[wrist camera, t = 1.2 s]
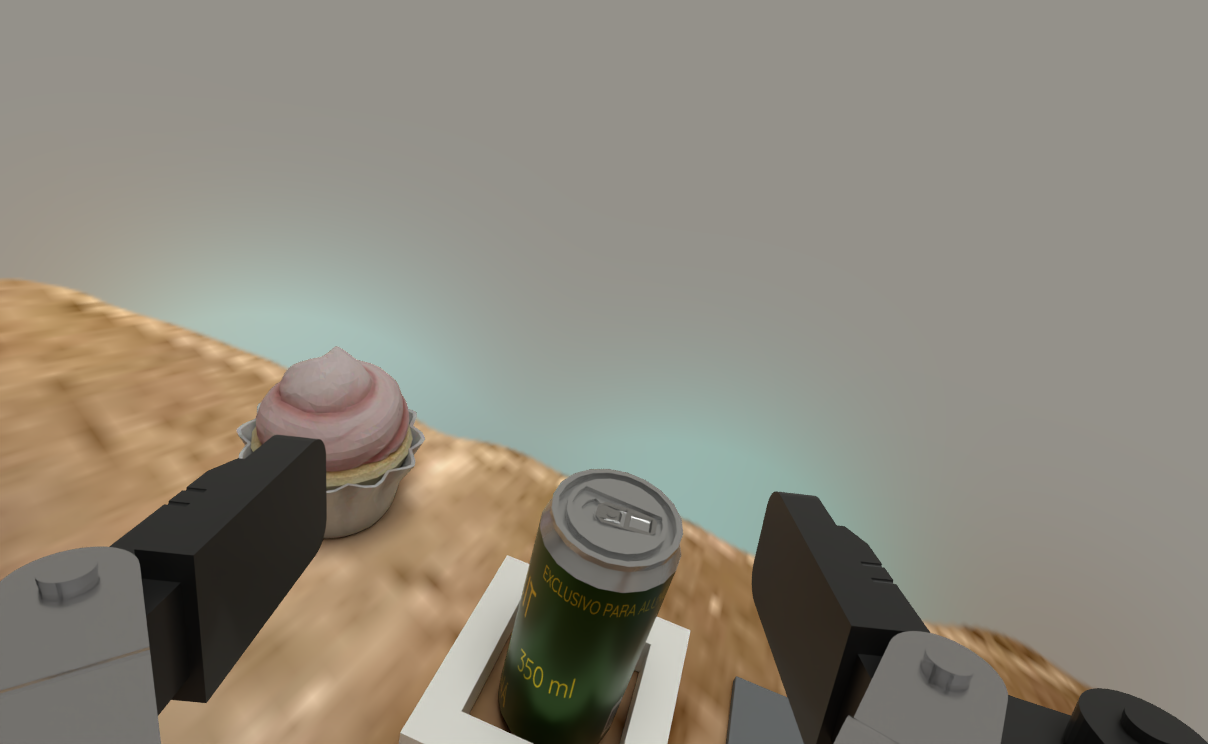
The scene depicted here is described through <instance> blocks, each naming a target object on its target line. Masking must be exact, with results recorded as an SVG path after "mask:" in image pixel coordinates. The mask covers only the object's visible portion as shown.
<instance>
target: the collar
mask: <svg viewBox="0 0 1208 744" xmlns="http://www.w3.org/2000/svg"><path fill="white" fill-rule="evenodd" d="M528 567H529V564H527V563H525V562H523V561H520V560H518V559H515V558H513V557H510V556H508V555H507V557H506V558H505V560H504V562H503V563H502V565H501V566H500V568H499V570H498V571H497V573H496V575H495V576H494V578H493V580H492V581H491V583H490V585H489V586H488V588H487V590H486V591H485V593H484V595H483V596H482V598H481V600H480V601H479V603H478V605H477V606H476V608H475V610H474V611H473V613H472V615H471V616H470V618H469V620H468V621H467V623H466V625H465V626H464V628H463V630H462V631H461V633H460V635H459V636H458V638H457V640H456V641H455V643H454V644H453V646H452V648H451V649H450V651H449V653H448V654H447V656H446V658H445V659H444V661H443V663H442V664H441V666H440V668H439V669H438V671H437V673H436V674H435V676H434V678H433V679H432V681H431V683H430V684H429V686H428V688H427V689H426V691H425V693H424V694H423V696H422V698H421V699H420V701H419V703H418V704H417V706H416V708H415V709H414V711H413V713H412V714H411V716H410V717H409V719H408V721H407V722H406V724H405V726H404V727H403V729H402V731H401V732H400V739H399V744H533V743H531V742H528V741H526V740H524V739H522V738H519V737H517V736H515V735H513V734H511V733H508V732H506V731H504V730H502V729H500V728H497V727H495V726H493V725H491V724H488V723H486V722H484V721H482V720H480V719H477V718H475V717H473V716H471V715H469V713H470V711H471V709H472V707H473V705H474V704H475V702H476V700H477V698H478V696H479V694H480V692H481V690H482V688H483V686H484V684H485V682H486V680H487V678H488V676H489V674H490V672H491V671H492V669H493V667H494V665H495V663H496V661H497V659H498V657H499V655H500V653H501V651H502V649H503V647H504V645H505V643H506V641H507V639H508V638H509V636H510V634H511V632H512V630H513V627H514V623H515V619H516V615H517V611H518V607H519V603H520V599H521V595H522V591H523V587H524V583H525V579H526V575H527V571H528ZM689 635H690V630H688V629H686V628H683V627H681V626H678V625H676V624H673V623H671V622H669V621H666V620H664V619H661V618H659V617H656V619H655V621H654V624H653V626H652V628H651V631H650V633H649V636H648V638H647V640H646V643H645V645H644V647H643V650H642V652H641V655H640V657H639V659H638V662H637V664H636V666H635V669H634V670H635V671H638V672H639V674H638V678H637V681H636V685H635V689H634V692H633V696H632V700H631V703H630V707H629V711H628V714H627V718H626V721H625V725H624V729H623V732H622V736H621V740H620V743H619V744H667V742H668V737H669V733H670V728H671V723H672V718H673V713H674V708H675V703H676V698H677V693H678V689H679V684H680V679H681V674H682V669H683V664H684V659H685V654H686V650H687V645H688V640H689Z"/></svg>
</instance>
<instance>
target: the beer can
mask: <svg viewBox="0 0 1208 744" xmlns="http://www.w3.org/2000/svg"><path fill="white" fill-rule="evenodd" d="M682 535H683V529H682V520H681V517H680V515H679V513H678V511H677V509H676V508H675V505H674V504H673V503H672V502H671V501H670V500H669V498H668V497H667V496H666V495H665V494H664V493H663V492H662V491H661V490H659V489H658V488H656V487H655V486H653V485H652V484H650V483H649V482H647V481H646V480H644V479H641V478H639V477H636V476H634V475H632V474H629V473H626V472H621V471H616V470H611V469H590V470H586V471H582V472H578V473H575V474H573V475H571V476H570V477H568V478H567V479H565V480H564V481H562V482H561V483H560V485H559V486H558V488H557V489H556V491H555V492H554V494H553V498H552V499H551V500H550V501H549V503H548V504H547V506H546V507H545V509H544V510H543V512H542V516H541V520H540V524H539V528H538V532H537V536H536V540H535V544H534V548H533V552H532V556H531V560H530V564H529V567H528V571H527V575H526V579H525V583H524V587H523V591H522V595H521V599H520V603H519V607H518V611H517V615H516V619H515V623H514V627H513V631H512V635H511V639H510V643H509V647H508V651H507V655H506V659H505V663H504V667H503V671H502V675H501V680H500V686H499V691H498V696H499V703H500V710H501V713H502V715H503V717H504V719H505V721H506V723H507V725H508V727H509V729H510V731H511V733H512V734H513V735H515V736H517V737H519V738H522V739H524V740H526V741H528V742H531V743H533V744H597V743H598V742H599V741H600V740H601V739H602V737H603V736H604V735H605V734H606V733H607V731H608V730H609V728H610V726H611V723H612V721H613V719H614V716H615V714H616V712H617V709H618V707H619V704H620V702H621V700H622V697H623V695H624V693H625V690H626V688H627V685H628V683H629V681H630V678H631V676H632V674H633V671H634V669H635V666H636V664H637V662H638V659H639V657H640V655H641V652H642V650H643V647H644V645H645V643H646V640H647V638H648V636H649V633H650V631H651V628H652V626H653V624H654V621H655V619H656V617H657V614H658V612H659V609H660V607H661V605H662V602H663V600H664V598H665V595H666V593H667V590H668V588H669V586H670V583H671V581H672V579H673V576H674V574H675V572H676V569H677V566H678V563H679V560H680V557H681V550H680V541H681V538H682Z"/></svg>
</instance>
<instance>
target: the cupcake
mask: <svg viewBox="0 0 1208 744" xmlns="http://www.w3.org/2000/svg"><path fill="white" fill-rule="evenodd" d="M416 417H417V412H415V411H413V410H410V409H408V407H407V403H406V401H405V399H404V397H403V396H402V394H401V391H400V389H399V385H398V383H397V382H396V380H394V379H393V378H392V377H391V376H390V375H389V374H387V373H386V372H385V371H384V370H382V369H381V368H380V367H377V366H375V365H373V364H371V363H367V362H363V361H360V360H356V359H355V358H353V357H352V356H351V355H350V354H348V353H347V352H346V351H344V350H343V349H341V348H339V347H337V346H336V347H334V348H333V349H332V350H331V351H329V352H328V353H327V354H325V355H324V356H322V357H320V358H313V359H309V360H306V361H302V362H299V363H296V364H294V365H292V366H291V367H290V368H289V369H288V370H287V371H286V372H285V374H284V376H283V378H282V380H281V381H280V382H279V383H277V384H276V385H275V386H273V387H272V388H271V389H270V391H269V392H268V393H267V395H266V396H265V397H264V399H263V400H262V402H261V403H259V405H258V406H257V416H256V418H255V419H253V420H251V421H249V422H247V423H244V424H242V425H241V426H240V427H239V428H238V429H236V430H237V433H238V435H239V437H240V438H241V440H242V441H243V442H244V444H245V445H246V446H245V447H244V448H243V450H242V451H241V452H240V454H239V458H241V459H245V458H246V457H248V456H249V455H250V454H251V453H252V452H254V451H255V450H256V449H257V448H259V447H260V446H261V445H262V444H263V443H265V442H266V441H267V440H268V439H270V438H271V437H272V436H274V435H287V436H295V437H304V438H313V439H320V440H322V441H323V443H324V445H325V449H326V493H327V521H326V529H325V534H324V537H323V538H337V537H344V536H348V535H352V534H355V533H358V532H360V531H362V530H364V529H366V528H368V527H370V526H372V525H373V524H374V523H375V522H377V521H378V520H379V519H380V518H381V517H382V516H383V515H384V514H385V512H386V511H387V510H388V508H389V507H390V505H391V503H392V501H393V499H394V496H395V494H396V491H397V488H398V484H399V482H400V480H401V479H402V478H403V477H404V476H405V475H406V474H407V473H408V472H409V471H410V470H411V469H412V468H413V467H414V466H415V459H414V454H415V453H416V451H417V450H418V448H419V447H420V446H421V444H422V443H423V441H424V440H425V437H424V435H423V433H422V432H421V431H420V430H418V429H417V428H415V427H414V426H413V425H414V422H415V420H416Z"/></svg>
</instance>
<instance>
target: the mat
mask: <svg viewBox="0 0 1208 744" xmlns="http://www.w3.org/2000/svg"><path fill="white" fill-rule="evenodd" d="M726 744H804V743H803V740H802V737H801V734H800V731H799V728H798V725H797V723H796V720H795V717H794V714H793V711H792V708H791V705H790V703H789V700H788V698H787V697H785V696H782V695H780V694H778V693H775V692H773V691H770V690H768V689H766V688H763V687H761V686H758V685H756V684H754V683H751V682H749V681H746V680H744V679H742V678H739V677H737V676H736V677H735V679H734V681H733V690H732V698H731V706H730V715H729V723H728V732H727V740H726Z"/></svg>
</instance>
